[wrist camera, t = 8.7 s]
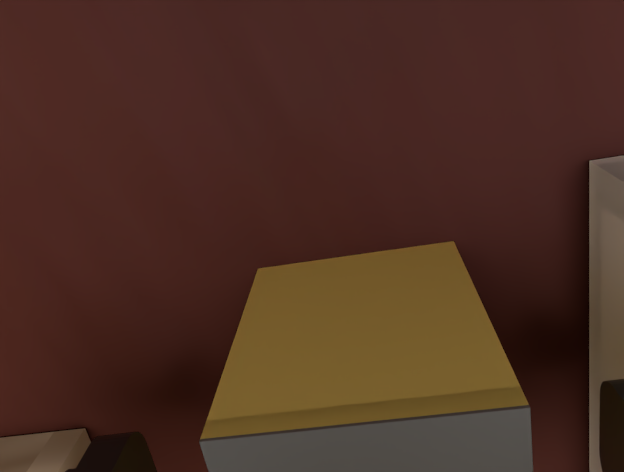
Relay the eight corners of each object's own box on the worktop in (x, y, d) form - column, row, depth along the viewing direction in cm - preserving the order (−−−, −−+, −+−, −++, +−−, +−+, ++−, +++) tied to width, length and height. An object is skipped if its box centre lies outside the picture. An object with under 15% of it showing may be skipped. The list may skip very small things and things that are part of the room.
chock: (258, 267, 12) (199, 442, 7) (452, 240, 11) (530, 407, 6) (302, 453, 13) (278, 691, 9) (471, 437, 13) (541, 678, 8)
